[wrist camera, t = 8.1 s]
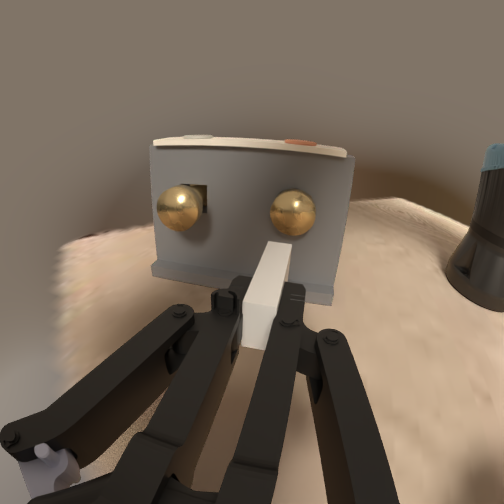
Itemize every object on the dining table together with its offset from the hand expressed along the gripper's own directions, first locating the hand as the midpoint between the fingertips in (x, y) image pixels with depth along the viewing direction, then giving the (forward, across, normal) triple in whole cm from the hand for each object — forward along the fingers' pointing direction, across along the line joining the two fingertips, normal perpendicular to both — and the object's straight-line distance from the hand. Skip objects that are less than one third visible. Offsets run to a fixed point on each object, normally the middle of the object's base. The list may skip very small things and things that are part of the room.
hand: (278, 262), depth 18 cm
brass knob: (+15, 0, -2) cm, 15 cm away
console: (+13, -6, -10) cm, 18 cm away
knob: (+12, -11, -2) cm, 16 cm away
